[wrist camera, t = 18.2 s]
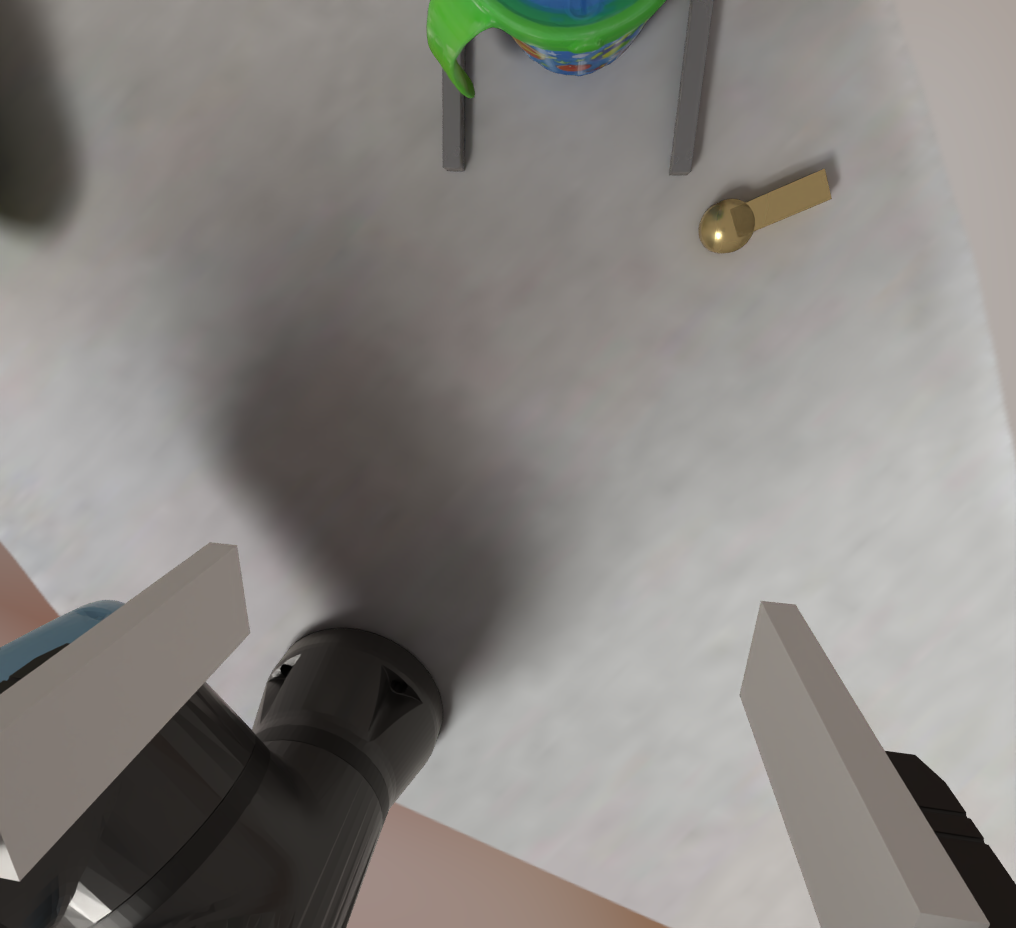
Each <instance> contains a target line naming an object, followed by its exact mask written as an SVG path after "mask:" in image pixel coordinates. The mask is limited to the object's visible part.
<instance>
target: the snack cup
mask: <svg viewBox="0 0 1016 928" xmlns="http://www.w3.org/2000/svg"><path fill="white" fill-rule="evenodd" d="M665 1H666V0H430V3H429V8H428V16H427V39H428V44H429V48H430V50H431V51H432V53H433V55H434V56H435V58H436V59H437V60H438V61H439V63H440V64H441V66H442V68H443V70H444V71H445V72H446V73H447V75H448V77H449V79H450V80H451V81H452V83H453V84H454V85H455V87H456V88H457V89H458V90H459V91H460V92H461V93H462V94H463V95H464V96H466V97H467V98H473V97H474V95H475V91H474V87H473V83H472V81H471V80H470V78H469V77H468V75H467V74H466V73H465V71H464V70H463V69H462V67H461V66H460V65H459V64H458V62H457V60H456V59H457V57H458V55H459V54H460V53H461V51H462V49H463V48H464V46H465V45H466V44H467V43H468V42H469V41H470V40H472V39H473V38H474V37H475V36H476V35H477V34H479V33H480V32H482V31H484V30H486V29H488V28H492V27H495V28H498V29H502V30H503V31H505V32H506V33H508V34H510V35H511V36H512V38H513V39H514V40H515V41H516V42H517V44H518V45H519V46H520V47H521V48H522V50H523V51H524V52H525V53H526V54H527V55H528V56H529V57H530V58H531V59H532V60H533V61H536V62H538V63H539V64H540V65H542V66H543V67H544V68H546V69H548V70H550V71H552V72H555V73H559V74H564V75H576V76H582V75H585V74H590V73H593V72H594V71H596V70H598V69H600V68H602V67H604V66H606V65H608V64H610V63H611V62H613V61H614V60H615V59H616V58H618V57H619V56H620V55H621V54H622V53H623V52H624V51H625V50H626V49H627V48H628V47H629V45H630V44H631V43H632V42H633V40H634V39H635V38H636V36H637V35H638V34H639V33H640V31H641V29H642V28H643V26H644V25H645V23H646V22H647V20H648V19H649V18H650V17H651V16H652V15H653V14H654V13H655V12H656V11H657V10H658V9H659V8H660V7H661V6H662V5H663V3H664V2H665Z"/></svg>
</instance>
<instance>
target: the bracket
mask: <svg viewBox="0 0 1016 928" xmlns="http://www.w3.org/2000/svg"><path fill="white" fill-rule="evenodd" d="M713 1H714V0H690V8H689V17H688V25H687V33H686V41H685V49H684V58H683V66H682V74H681V82H680V90H679V99H678V107H677V115H676V123H675V131H674V139H673V148H672V156H671V164H670V172H669V175H688V174H689V173H690V172H691V166H692V158H693V151H694V143H695V136H696V128H697V121H698V113H699V106H700V98H701V91H702V84H703V76H704V69H705V61H706V54H707V46H708V39H709V31H710V24H711V16H712V9H713ZM456 60H457V62H458V64H459V65H460V66H461V67H462V69H463V70H464V71H465V46H464V48H463V49H462V51H461V53H460V54H459V55H458V57H457V59H456ZM464 127H465V96H464V95H463V94H462V93H461V92H460V91H459V90H458V89H457V88H456V87H455V85H454V84H453V83H452V81H451V80H450V79H449V77H448V75H447V73H446V72H445V71H444V70H443V168H444V169H446V170H447V171H464Z"/></svg>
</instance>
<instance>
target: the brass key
mask: <svg viewBox="0 0 1016 928" xmlns="http://www.w3.org/2000/svg"><path fill="white" fill-rule="evenodd" d="M830 199H832V198H831V194H830V189H829V185H828V181H827V176H826V172H825V169H822V170H820V171H818V172H815V173H813V174H811V175H808V176H806V177H804V178H801V179H799V180H797V181H794V182H792V183H790V184H788V185H785V186H783V187H781V188H778V189H776V190H774V191H771V192H769V193H767V194H765V195H762V196H760V197H758V198H755V199H753V200H751V201H748V202H746V203H745V202H743V201H741V200H738V199H727V200H723V201H721V202H719V203H717V204H715V205H713V206H712V207H710V208H709V209H708V210H707V211H706V212H705V214H704V215H703V217H702V218H701V221H700V224H699V237H700V240H701V242H702V244H703V245H704V247H705V248H707V249H708V250H709V251H711V252H714V253H729V252H733V251H736V250H738V249H740V248H741V247H743V246H744V245H745V244H746V243H747V242H748V240H749V239H750V237H751V236H752V234H753V232H754V231H756V230H758V229H761V228H763V227H765V226H768V225H770V224H773V223H775V222H777V221H780V220H782V219H785V218H787V217H789V216H792V215H794V214H796V213H799V212H801V211H804V210H806V209H808V208H811V207H813V206H816V205H818V204H820V203H823V202H825V201H828V200H830Z"/></svg>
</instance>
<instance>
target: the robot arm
mask: <svg viewBox="0 0 1016 928" xmlns="http://www.w3.org/2000/svg"><path fill="white" fill-rule="evenodd" d="M249 634H250V629H249V622H248V616H247V609H246V602H245V596H244V589H243V582H242V575H241V569H240V562H239V555H238V549H237V545H229V544H219V543H209V544H207V545H206V546H204V547H203V548H202V549H200V550H199V551H197V552H196V553H195V554H193V555H192V556H191V557H189V558H188V559H186V560H185V561H184V562H182V563H181V564H180V565H178V566H177V567H175V568H174V569H173V570H171V571H170V572H168V573H167V574H166V575H164V576H163V577H162V578H160V579H159V580H157V581H156V582H155V583H153V584H152V585H151V586H149V587H148V588H146V589H145V590H144V591H142V592H141V593H140V594H138V595H137V596H135V597H134V598H133V599H131V600H130V601H128V602H127V603H126V604H125V603H122V602H119V601H113V600H102V601H96V602H93V603H89V604H87V605H84V606H82V607H79V608H77V609H75V610H73V611H71V612H69V613H67V614H65V615H63V616H61V617H58V618H56V619H55V620H53V621H51V622H49V623H47V624H45V625H43V626H41V627H39V628H37V629H35V630H33V631H31V632H29V633H27V634H25V635H23V636H22V637H19V638H18V639H16V640H14V641H12V642H10V643H8V644H6V645H4V646H2V647H0V928H346V927H347V924H348V921H349V918H350V916H351V913H352V910H353V907H354V904H355V902H356V899H357V896H358V893H359V891H360V888H361V885H362V882H363V879H364V877H365V874H366V871H367V868H368V865H369V863H370V860H371V857H372V854H373V852H374V849H375V846H376V843H377V841H378V838H379V835H380V832H381V829H382V827H383V824H384V821H385V818H386V816H387V814H388V811H389V809H390V807H391V806H392V805H393V804H394V802H395V801H396V800H397V799H398V797H399V796H400V795H401V794H402V792H403V791H404V790H405V789H406V787H407V786H408V785H409V784H410V782H411V781H412V780H413V779H414V778H415V776H416V775H417V774H418V773H419V771H420V770H421V769H422V768H423V766H424V765H425V764H426V762H427V761H428V759H429V757H430V756H431V754H432V752H433V749H434V747H435V744H436V741H437V738H438V734H439V731H440V728H441V724H442V717H443V710H442V702H441V698H440V694H439V691H438V689H437V687H436V685H435V683H434V681H433V679H432V677H431V676H430V674H429V673H428V671H427V670H426V669H425V668H424V666H423V665H422V664H421V663H420V662H419V661H418V660H417V659H416V658H415V657H414V656H412V655H411V654H410V653H409V652H408V651H406V650H405V649H403V648H402V647H400V646H399V645H397V644H396V643H394V642H392V641H390V640H388V639H386V638H384V637H381V636H379V635H376V634H373V633H370V632H366V631H361V630H356V629H345V628H338V629H327V630H322V631H318V632H315V633H312V634H310V635H308V636H306V637H304V638H302V639H300V640H299V641H297V642H296V643H295V644H294V645H293V646H292V647H291V648H290V649H289V650H288V651H287V652H286V654H285V655H284V656H283V657H282V659H281V660H280V661H279V663H278V664H277V665H276V666H275V668H274V669H273V671H272V673H271V675H270V677H269V678H268V681H267V683H266V686H265V690H264V693H263V696H262V699H261V703H260V706H259V709H258V712H257V715H256V719H255V722H254V725H253V728H252V730H251V729H250V728H249V727H248V726H247V725H246V723H245V722H244V721H243V720H242V719H241V718H240V717H239V716H238V715H237V714H236V713H235V712H234V711H233V710H232V709H231V708H230V707H229V706H228V705H227V704H226V703H225V702H224V700H223V699H222V698H221V697H220V696H219V695H218V694H217V693H216V692H215V691H214V690H213V689H212V688H211V687H210V686H209V685H208V684H207V683H206V682H205V681H206V680H207V679H208V678H209V677H210V676H211V675H212V674H213V673H214V672H215V671H216V669H217V668H218V667H219V666H220V665H221V664H222V663H223V662H224V661H225V660H226V659H227V658H228V657H229V655H230V654H231V653H232V652H233V651H234V650H235V649H236V648H237V647H238V646H239V645H240V644H241V643H242V641H243V640H244V639H245V638H246V637H247V636H248V635H249ZM740 697H741V700H742V703H743V706H744V709H745V712H746V715H747V717H748V720H749V723H750V726H751V729H752V732H753V735H754V737H755V740H756V743H757V746H758V749H759V752H760V755H761V757H762V760H763V763H764V766H765V769H766V772H767V775H768V777H769V780H770V783H771V786H772V789H773V792H774V795H775V797H776V800H777V803H778V806H779V809H780V812H781V815H782V817H783V820H784V823H785V826H786V829H787V832H788V835H789V837H790V840H791V843H792V846H793V849H794V852H795V855H796V857H797V860H798V863H799V866H800V869H801V872H802V875H803V877H804V880H805V883H806V886H807V889H808V892H809V895H810V897H811V900H812V903H813V906H814V909H815V912H816V915H817V917H818V920H819V923H820V926H821V928H1016V884H1015V883H1014V881H1013V880H1012V878H1011V877H1010V875H1009V874H1008V872H1007V871H1006V870H1005V868H1004V867H1003V865H1002V864H1001V862H1000V861H999V859H998V858H997V857H996V855H995V854H994V852H993V851H992V849H991V848H990V846H989V845H986V844H985V843H984V838H983V836H982V835H981V833H980V832H979V830H978V829H977V828H976V826H975V825H974V823H973V822H972V820H971V819H970V818H967V817H966V812H965V810H964V809H963V807H962V806H961V804H960V803H959V801H958V800H957V799H956V797H955V796H954V794H953V793H952V791H951V790H950V788H949V787H948V786H947V784H946V783H945V782H944V781H943V780H942V779H941V778H940V777H939V776H938V775H937V774H936V773H934V772H933V771H932V770H931V769H930V768H929V767H928V766H927V765H926V764H924V763H923V762H922V761H921V760H920V759H919V758H918V757H917V756H916V755H912V754H904V753H897V752H889V751H884V749H883V747H882V746H881V744H880V743H879V741H878V739H877V738H876V736H875V734H874V733H873V731H872V729H871V728H870V726H869V725H868V723H867V721H866V720H865V718H864V716H863V715H862V713H861V711H860V710H859V708H858V706H857V705H856V703H855V702H854V700H853V698H852V697H851V695H850V693H849V692H848V690H847V688H846V687H845V685H844V683H843V682H842V680H841V679H840V677H839V675H838V674H837V672H836V670H835V669H834V667H833V665H832V664H831V662H830V660H829V659H828V657H827V656H826V654H825V652H824V651H823V649H822V647H821V646H820V644H819V642H818V641H817V639H816V637H815V636H814V634H813V633H812V631H811V629H810V628H809V626H808V624H807V623H806V621H805V619H804V618H803V616H802V614H801V613H800V611H799V610H798V608H797V606H796V605H794V604H784V603H775V602H766V601H761V603H760V608H759V612H758V616H757V621H756V625H755V630H754V634H753V638H752V643H751V647H750V652H749V656H748V660H747V665H746V669H745V674H744V678H743V682H742V687H741V691H740Z"/></svg>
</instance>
